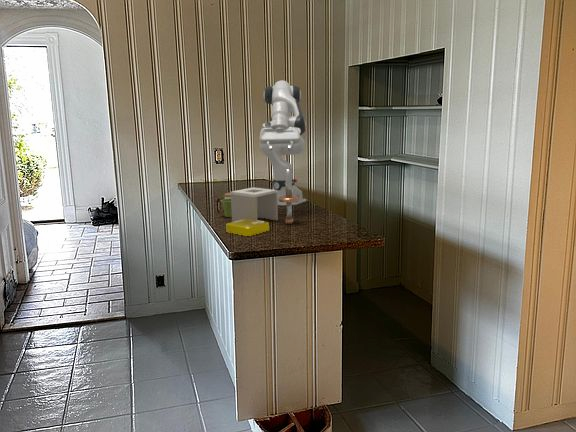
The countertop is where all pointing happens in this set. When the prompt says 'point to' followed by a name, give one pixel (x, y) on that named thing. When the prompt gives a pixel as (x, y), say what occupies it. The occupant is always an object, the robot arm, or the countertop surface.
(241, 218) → the slotted white pedestal
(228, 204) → the plant pot
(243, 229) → the element tile
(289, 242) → the countertop surface
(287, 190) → the peg
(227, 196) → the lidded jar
